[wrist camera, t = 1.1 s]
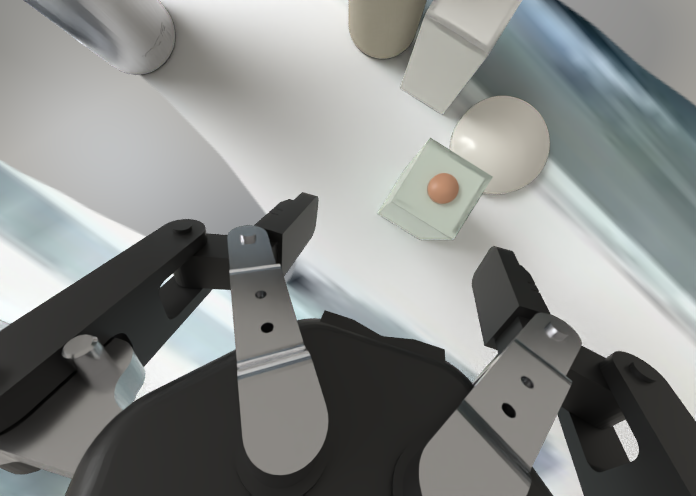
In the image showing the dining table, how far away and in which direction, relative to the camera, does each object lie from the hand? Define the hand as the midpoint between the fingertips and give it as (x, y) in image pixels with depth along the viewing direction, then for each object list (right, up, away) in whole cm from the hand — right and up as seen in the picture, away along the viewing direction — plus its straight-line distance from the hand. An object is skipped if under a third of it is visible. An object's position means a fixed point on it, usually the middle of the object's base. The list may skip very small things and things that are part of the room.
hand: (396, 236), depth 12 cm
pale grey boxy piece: (+5, +5, +19) cm, 20 cm away
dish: (+15, +11, +19) cm, 27 cm away
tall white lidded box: (+8, +19, +18) cm, 28 cm away
